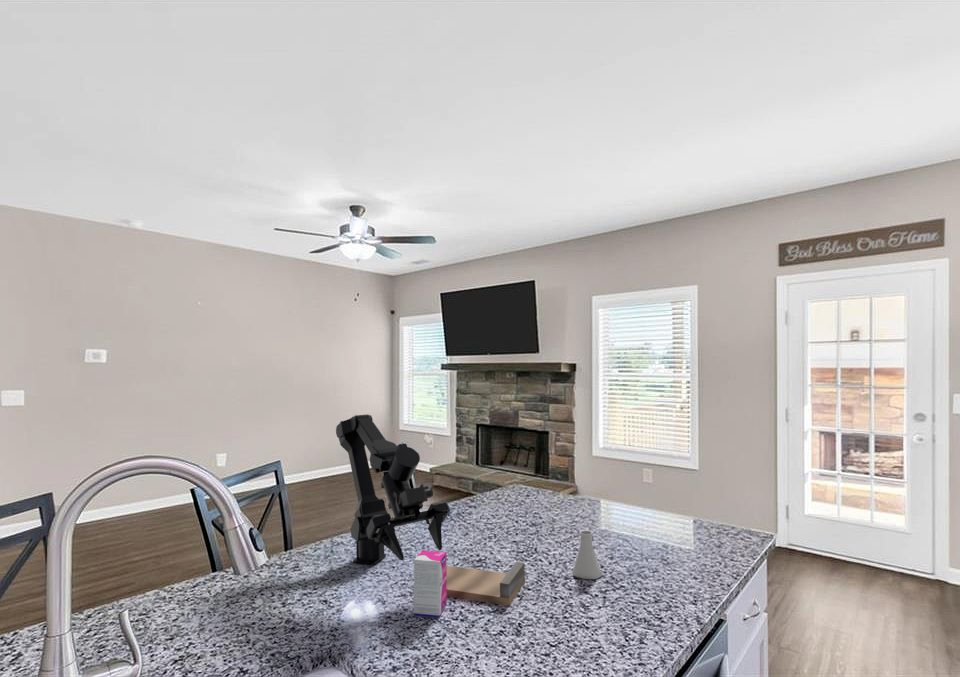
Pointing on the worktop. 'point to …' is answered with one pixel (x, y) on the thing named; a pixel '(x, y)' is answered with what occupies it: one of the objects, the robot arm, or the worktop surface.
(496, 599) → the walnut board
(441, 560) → the supplement box
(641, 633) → the worktop surface
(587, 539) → the flask
